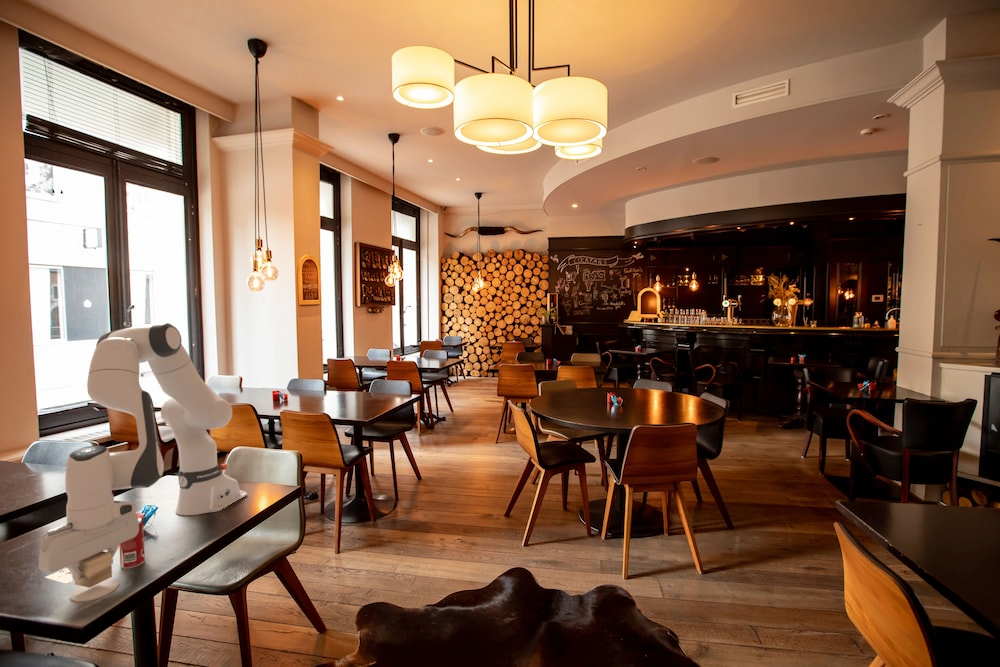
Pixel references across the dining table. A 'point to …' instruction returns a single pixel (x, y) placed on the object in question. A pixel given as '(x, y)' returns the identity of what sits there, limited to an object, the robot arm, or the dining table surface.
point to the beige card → (61, 576)
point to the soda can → (133, 550)
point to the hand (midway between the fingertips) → (93, 571)
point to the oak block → (95, 569)
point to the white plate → (94, 590)
